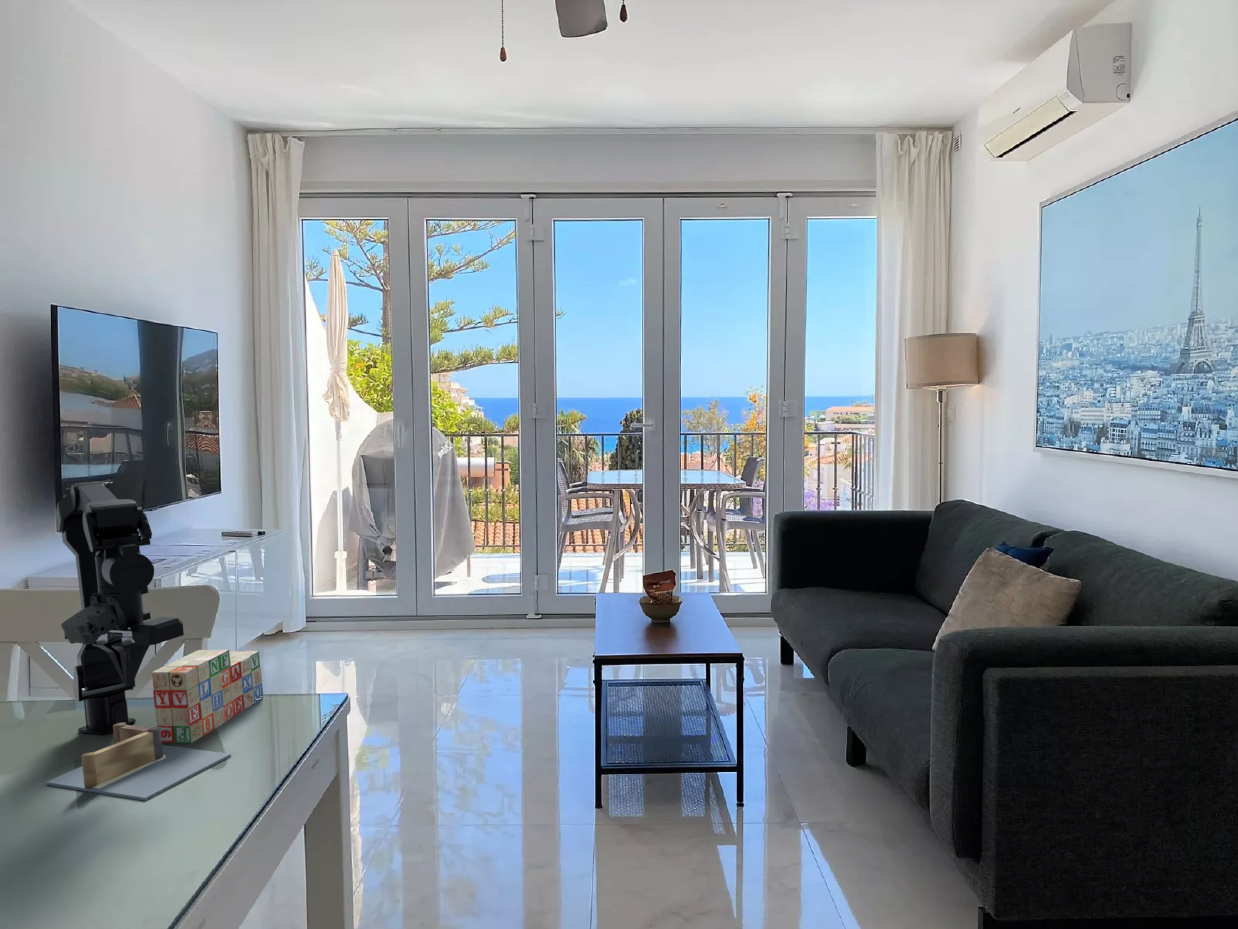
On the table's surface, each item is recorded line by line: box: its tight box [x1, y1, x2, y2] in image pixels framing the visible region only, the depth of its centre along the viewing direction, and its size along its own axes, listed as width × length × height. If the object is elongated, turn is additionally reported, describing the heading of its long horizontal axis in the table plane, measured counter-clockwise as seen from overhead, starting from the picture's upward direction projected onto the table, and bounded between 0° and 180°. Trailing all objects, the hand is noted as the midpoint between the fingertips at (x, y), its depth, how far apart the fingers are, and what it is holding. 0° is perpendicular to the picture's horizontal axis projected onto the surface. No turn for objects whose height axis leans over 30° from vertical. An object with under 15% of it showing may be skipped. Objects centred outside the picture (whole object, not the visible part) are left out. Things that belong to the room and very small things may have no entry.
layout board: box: [45, 744, 232, 802], centre depth 132 cm, size 20×16×1 cm
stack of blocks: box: [151, 649, 264, 744], centre depth 152 cm, size 21×6×12 cm, turn 171°
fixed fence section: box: [112, 723, 150, 744], centre depth 136 cm, size 7×2×5 cm, turn 69°
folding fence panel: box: [81, 726, 163, 788], centre depth 130 cm, size 12×2×5 cm, turn 154°
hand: (128, 683), depth 133 cm, fingers closed
